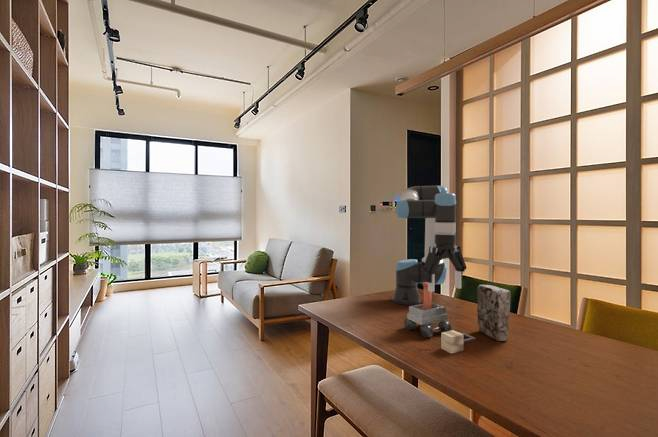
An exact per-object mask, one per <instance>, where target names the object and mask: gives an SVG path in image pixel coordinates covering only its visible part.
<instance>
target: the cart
mask: <svg viewBox="0 0 658 437" xmlns="http://www.w3.org/2000/svg"><path fill="white" fill-rule="evenodd" d="M446 310H447V308H446V306H443V305H441V304H437V303H436V302H435V303H434V302H431V309H427V310H424V303H422V304H421V303H419V304H416V305H408V312H407V313H406V317H405V318H404V320H403V325H404V327H405V329H406V330H408V331H411V330H415V329H416V328H417V324H418V325H420V328H419V331H420V332H419V333H420V335H421V336H422V338H425V339H427V338H430V337H433V335H434V331H438V330H439V332H440V333H442V332H447V331H451V330H452V325H451V323H450V321H449V320H448V314H447V312H446ZM434 323H438V324H437V327H434V328H433V324H434Z"/></svg>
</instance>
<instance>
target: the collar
mask: <svg viewBox="0 0 658 437" xmlns="http://www.w3.org/2000/svg"><path fill="white" fill-rule="evenodd" d="M460 333H461V334H464V337H465V339H464V344H465V343H469V342H474V341H476V340H477V338H476V337H474V336H473V335H469V334H467V333H465V332H460Z"/></svg>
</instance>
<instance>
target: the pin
mask: <svg viewBox="0 0 658 437" xmlns="http://www.w3.org/2000/svg"><path fill="white" fill-rule="evenodd" d="M422 287H423V304H424V310H427V309H431V303H432V293H433V292H431V291H428V282H424V283H423V284H422Z"/></svg>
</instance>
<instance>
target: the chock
mask: <svg viewBox="0 0 658 437" xmlns="http://www.w3.org/2000/svg"><path fill="white" fill-rule="evenodd" d="M440 333H441V332H440ZM461 333H462V332H459V331H456V330H453V329H451V331H447V332H442V333H441V334H440V336H441V337H440V349H441V350H443V351H446V353H449V354H455V353H460V352H463V351H464V344H465V343H464V337H465V336H464V334H461Z"/></svg>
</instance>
